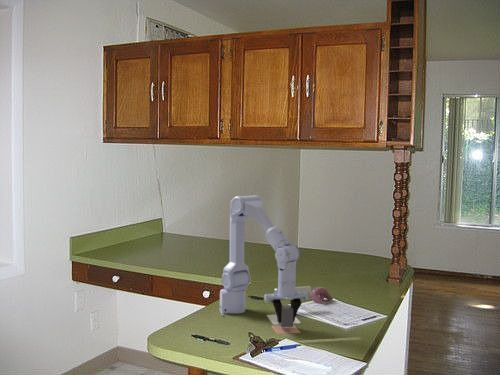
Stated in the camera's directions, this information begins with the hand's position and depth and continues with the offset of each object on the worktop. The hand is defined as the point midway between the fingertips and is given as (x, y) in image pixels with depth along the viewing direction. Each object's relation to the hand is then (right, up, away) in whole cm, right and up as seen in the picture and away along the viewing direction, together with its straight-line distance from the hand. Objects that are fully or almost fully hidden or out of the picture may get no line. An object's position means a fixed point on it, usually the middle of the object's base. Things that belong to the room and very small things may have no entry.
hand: (285, 321), depth 172 cm
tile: (0, -3, 0) cm, 3 cm away
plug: (0, -1, 0) cm, 1 cm away
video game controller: (+16, -1, +34) cm, 38 cm away
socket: (-1, -2, +12) cm, 13 cm away
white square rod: (+4, +5, +20) cm, 21 cm away
